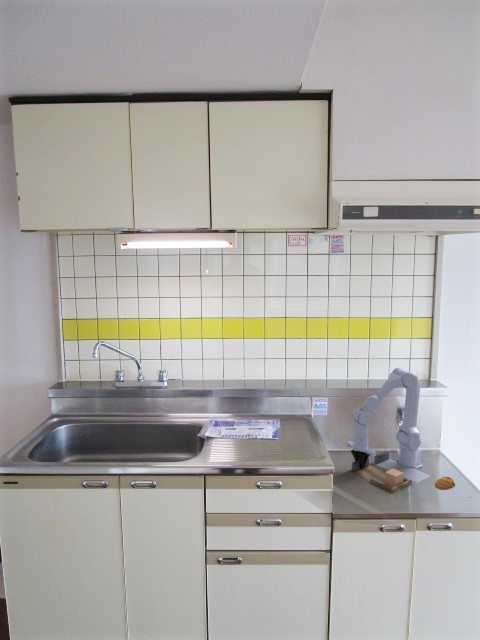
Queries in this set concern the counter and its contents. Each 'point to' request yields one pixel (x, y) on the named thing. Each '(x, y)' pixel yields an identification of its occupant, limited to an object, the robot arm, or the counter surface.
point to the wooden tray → (376, 476)
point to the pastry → (444, 483)
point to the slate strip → (399, 467)
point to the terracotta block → (393, 477)
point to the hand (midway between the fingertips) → (360, 467)
